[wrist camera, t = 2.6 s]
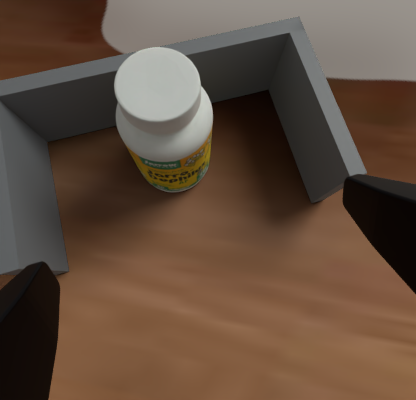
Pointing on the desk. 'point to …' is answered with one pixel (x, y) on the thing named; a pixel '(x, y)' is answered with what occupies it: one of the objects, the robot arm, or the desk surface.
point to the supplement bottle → (164, 117)
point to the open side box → (106, 117)
